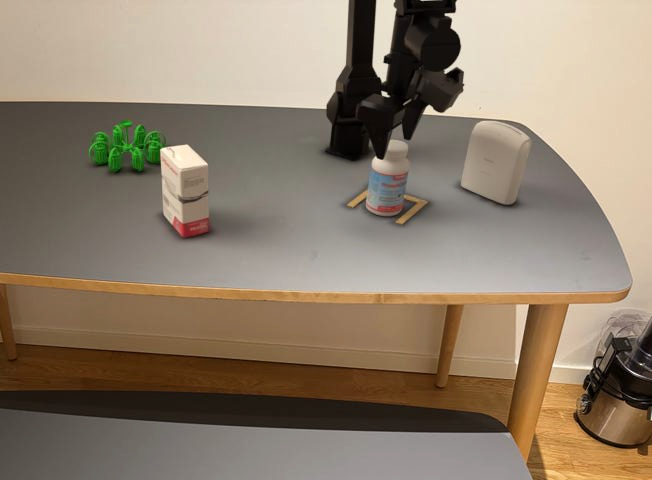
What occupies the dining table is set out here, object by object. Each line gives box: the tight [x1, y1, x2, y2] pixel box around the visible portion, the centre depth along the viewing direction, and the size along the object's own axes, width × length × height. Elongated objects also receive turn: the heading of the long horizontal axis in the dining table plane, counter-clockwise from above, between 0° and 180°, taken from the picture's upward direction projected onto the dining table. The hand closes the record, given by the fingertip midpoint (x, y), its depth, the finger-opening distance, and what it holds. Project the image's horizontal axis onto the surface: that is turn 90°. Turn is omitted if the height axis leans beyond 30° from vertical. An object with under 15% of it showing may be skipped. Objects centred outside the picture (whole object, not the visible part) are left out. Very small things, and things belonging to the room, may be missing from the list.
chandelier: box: [88, 119, 167, 173], centre depth 137 cm, size 15×15×7 cm
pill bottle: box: [365, 139, 410, 217], centre depth 121 cm, size 6×6×11 cm
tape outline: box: [346, 188, 429, 226], centre depth 125 cm, size 10×9×1 cm
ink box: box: [160, 143, 210, 239], centre depth 117 cm, size 8×5×12 cm, turn 26°
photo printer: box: [460, 120, 532, 206], centre depth 125 cm, size 10×4×12 cm, turn 39°
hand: (394, 149), depth 118 cm, fingers open, 9 cm apart
